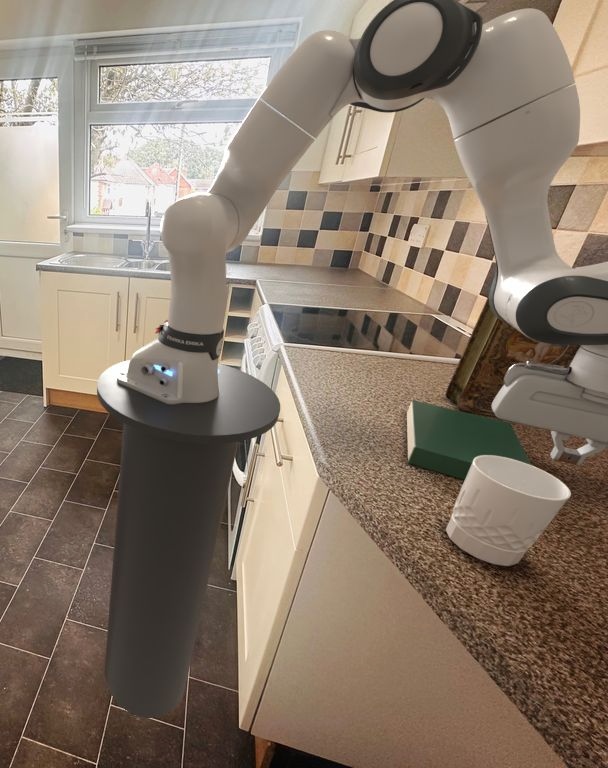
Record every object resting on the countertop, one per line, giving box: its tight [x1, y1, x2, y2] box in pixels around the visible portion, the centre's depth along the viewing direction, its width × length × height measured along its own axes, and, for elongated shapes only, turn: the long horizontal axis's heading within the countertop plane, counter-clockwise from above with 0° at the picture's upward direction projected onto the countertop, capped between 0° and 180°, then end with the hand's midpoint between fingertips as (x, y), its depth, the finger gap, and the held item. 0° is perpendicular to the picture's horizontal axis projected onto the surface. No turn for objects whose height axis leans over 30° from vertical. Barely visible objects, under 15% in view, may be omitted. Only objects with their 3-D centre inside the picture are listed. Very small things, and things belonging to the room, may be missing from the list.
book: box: [445, 295, 581, 417], centre depth 77 cm, size 16×6×25 cm, turn 73°
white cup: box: [445, 455, 572, 567], centre depth 47 cm, size 8×8×10 cm
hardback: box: [406, 399, 532, 481], centre depth 68 cm, size 14×20×3 cm
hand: (564, 460), depth 62 cm, fingers closed
